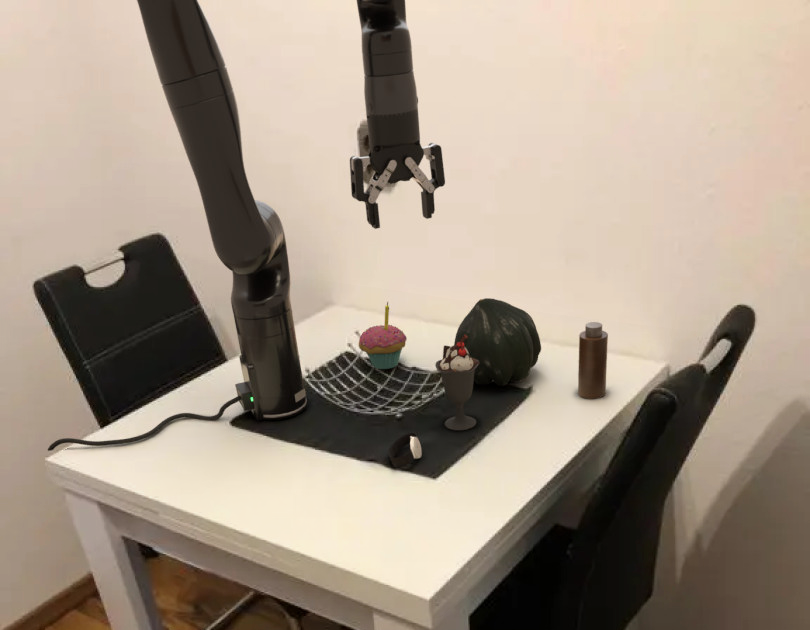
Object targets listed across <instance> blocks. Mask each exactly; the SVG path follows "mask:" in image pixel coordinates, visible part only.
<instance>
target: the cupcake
mask: <svg viewBox="0 0 810 630" xmlns="http://www.w3.org/2000/svg"><path fill="white" fill-rule="evenodd" d="M389 313H390V305H389V301H387V302H386V305H385V306H384V324H383V325H382V324H381V325H374V326H370V327H368V328H367V329H365V330H364V331H363V332H362V333H361V335H360V337H359V341H358V348H359V350H361V351H362V352H364V353H366V355H367V356H368V359H369V361H370V364H371V365H372V367H373V368H374V369H377V370H389V369H393V368H395V367H397V366H398V365H399V363H400V357H401V353H402V350H403V348H405V346H406V342H407V335H406V334H405V333H404V331H403V330H401V329H400V328H398V327H397V326H395V325H392V324H389V319H390V318H389V317H390V316H389V315H390V314H389Z"/></svg>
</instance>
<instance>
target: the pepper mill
mask: <svg viewBox="0 0 810 630" xmlns="http://www.w3.org/2000/svg"><path fill="white" fill-rule="evenodd" d="M584 326H585V327H584V330H583V331H581V332H580V333H579V335H578V375H577V395H578V396H579V397H581V398H583V399H589V400H591V399H593V400H594V399H600V398H602V397H604V396H605V395H606V391H607V390H606V388H607V367H608V365H607V364H608V342H609V340H608V339H609V333H608V332H606V331H605V330H603V323H602V322H599V321H591V322H587V323H585V325H584Z"/></svg>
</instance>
